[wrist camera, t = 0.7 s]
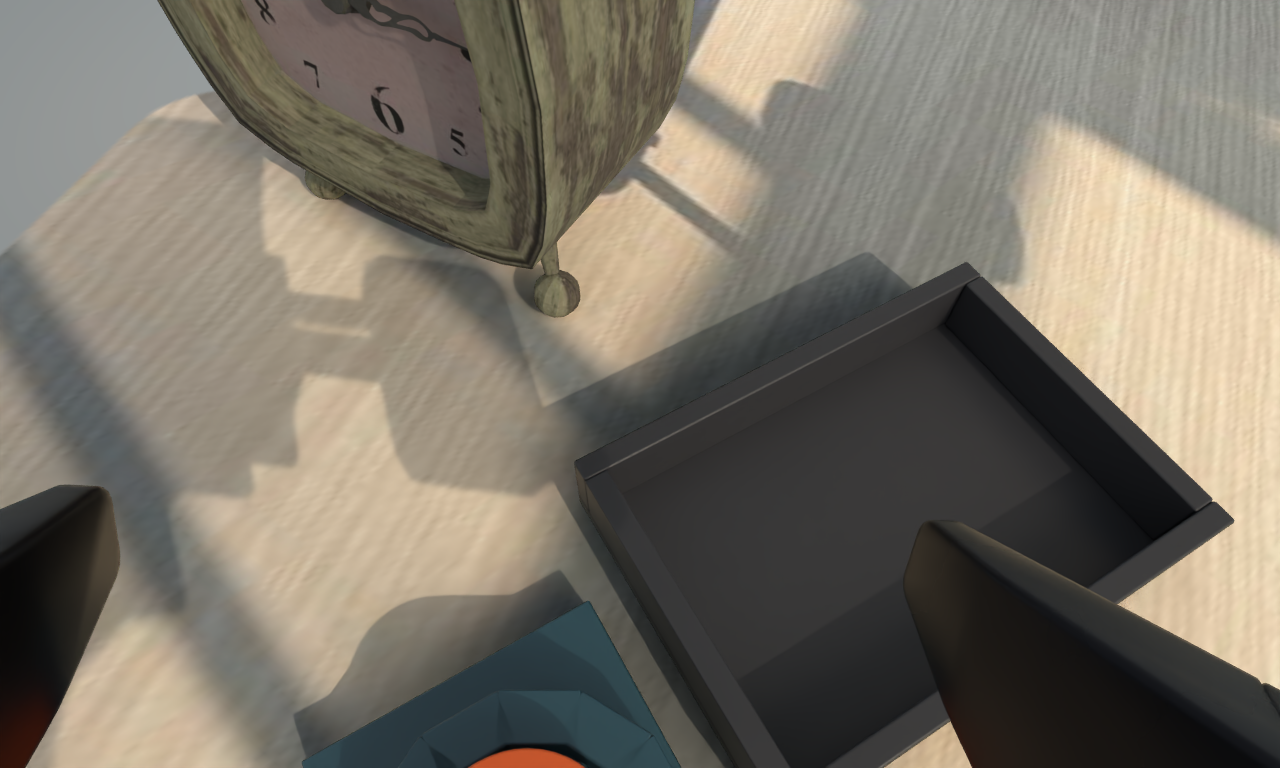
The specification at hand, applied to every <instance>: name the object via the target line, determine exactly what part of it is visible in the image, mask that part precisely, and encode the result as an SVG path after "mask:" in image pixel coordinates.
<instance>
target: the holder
mask: <svg viewBox="0 0 1280 768" xmlns="http://www.w3.org/2000/svg"><path fill="white" fill-rule="evenodd" d="M574 465H575V471H576V477H577V483H578V490H579V497H580V502H581V504H582V505H583V507H584V509H585V510H586V512H587V514H588V516H589V517H590V519H591V521H592V522H593V524H594V526H595V528H596V529H597V531H598V533H599V535H600V536H601V538H602V540H603V541H604V543H605V545H606V547H607V548H608V550H609V552H610V553H611V555H612V557H613V559H614V560H615V562H616V564H617V565H618V567H619V569H620V571H621V572H622V574H623V576H624V577H625V579H626V581H627V583H628V584H629V586H630V588H631V589H632V591H633V593H634V595H635V596H636V598H637V600H638V601H639V603H640V605H641V607H642V608H643V610H644V612H645V613H646V615H647V617H648V619H649V620H650V622H651V624H652V625H653V627H654V629H655V631H656V632H657V634H658V636H659V637H660V639H661V641H662V643H663V644H664V646H665V648H666V649H667V651H668V653H669V655H670V656H671V658H672V660H673V661H674V663H675V665H676V667H677V668H678V670H679V672H680V673H681V675H682V677H683V679H684V680H685V682H686V684H687V685H688V687H689V689H690V691H691V692H692V694H693V696H694V697H695V699H696V701H697V703H698V704H699V706H700V708H701V710H702V711H703V713H704V715H705V716H706V718H707V720H708V722H709V723H710V725H711V727H712V728H713V730H714V732H715V734H716V735H717V737H718V739H719V740H720V742H721V744H722V746H723V747H724V749H725V751H726V752H727V754H728V756H729V758H730V759H731V761H732V763H733V764H734V766H735V768H884V767H885V766H887V765H888V764H890V763H891V762H893V761H894V760H895V759H897V758H898V757H900V756H901V755H903V754H904V753H905V752H907V751H908V750H910V749H911V748H913V747H914V746H916V745H917V744H918V743H920V742H921V741H923V740H924V739H926V738H927V737H928V736H930V735H931V734H933V733H934V732H936V731H937V730H938V729H940V728H941V727H943V726H944V725H946V724H947V723H948V722H950V719H949V716H948V714H947V712H946V710H945V707H944V705H943V702H942V700H941V697H940V695H939V692H938V689H937V687H936V684H935V681H934V678H933V675H932V672H931V670H930V667H929V664H928V661H927V658H926V655H925V652H924V650H923V647H922V644H921V641H920V638H919V635H918V632H917V630H916V627H915V624H914V621H913V618H912V615H911V612H910V610H909V607H908V604H907V601H906V598H905V595H904V589H903V577H904V572H905V569H906V566H907V563H908V560H909V557H910V554H911V551H912V548H913V545H914V542H915V539H916V536H917V533H918V530H919V528H920V526H921V525H922V524H923V523H924V522H926V521H928V520H952V521H958V522H961V523H963V524H965V525H967V526H969V527H971V528H973V529H975V530H977V531H978V532H980V533H982V534H984V535H986V536H988V537H990V538H992V539H994V540H996V541H997V542H999V543H1001V544H1003V545H1005V546H1007V547H1009V548H1011V549H1013V550H1015V551H1016V552H1018V553H1020V554H1022V555H1024V556H1026V557H1028V558H1030V559H1032V560H1034V561H1035V562H1037V563H1039V564H1041V565H1043V566H1045V567H1047V568H1049V569H1051V570H1053V571H1054V572H1056V573H1058V574H1060V575H1062V576H1064V577H1066V578H1068V579H1070V580H1072V581H1073V582H1075V583H1077V584H1079V585H1081V586H1083V587H1085V588H1087V589H1089V590H1091V591H1092V592H1094V593H1096V594H1098V595H1100V596H1102V597H1104V598H1106V599H1108V600H1110V601H1112V602H1113V603H1115V604H1118V603H1120V602H1121V601H1123V600H1124V599H1126V598H1127V597H1128V596H1130V595H1131V594H1133V593H1134V592H1136V591H1137V590H1138V589H1140V588H1141V587H1143V586H1144V585H1146V584H1147V583H1148V582H1150V581H1151V580H1153V579H1154V578H1156V577H1157V576H1158V575H1160V574H1161V573H1163V572H1164V571H1166V570H1167V569H1168V568H1170V567H1171V566H1173V565H1174V564H1176V563H1177V562H1178V561H1180V560H1181V559H1183V558H1184V557H1186V556H1187V555H1188V554H1190V553H1191V552H1193V551H1194V550H1196V549H1197V548H1198V547H1200V546H1201V545H1203V544H1204V543H1206V542H1207V541H1208V540H1210V539H1211V538H1213V537H1214V536H1216V535H1217V534H1218V533H1220V532H1221V531H1223V530H1224V529H1226V528H1227V527H1228V526H1230V525H1231V524H1233V523H1234V519H1233V518H1232V517H1231V516H1230V515H1229V514H1228V513H1227V512H1226V511H1225V510H1224V509H1223V508H1222V507H1221V506H1220V505H1219V504H1218V503H1217V502H1212V500H1213V499H1212V498H1211V497H1210V496H1209V495H1208V494H1207V493H1206V492H1205V491H1204V490H1203V489H1202V488H1201V487H1200V486H1199V485H1198V484H1197V483H1196V482H1195V481H1194V480H1193V479H1192V478H1191V477H1190V476H1189V475H1188V474H1187V473H1186V472H1185V471H1183V470H1182V469H1181V468H1180V467H1179V466H1178V465H1177V464H1176V463H1175V462H1174V461H1173V460H1172V459H1171V458H1170V457H1169V456H1168V455H1167V454H1166V453H1165V452H1164V451H1163V450H1162V449H1161V448H1160V447H1159V446H1158V445H1157V444H1156V443H1154V442H1153V441H1152V440H1151V439H1150V438H1149V437H1148V436H1147V435H1146V434H1145V433H1144V432H1143V431H1142V430H1141V429H1140V428H1139V427H1138V426H1137V425H1136V424H1135V423H1134V422H1133V421H1132V420H1131V419H1130V418H1129V417H1128V416H1126V415H1125V414H1124V413H1123V412H1122V411H1121V410H1120V409H1119V408H1118V407H1117V406H1116V405H1115V404H1114V403H1113V402H1112V401H1111V400H1110V399H1109V398H1108V397H1107V396H1106V395H1105V394H1104V393H1103V392H1102V391H1101V390H1100V389H1098V388H1097V387H1096V386H1095V385H1094V384H1093V383H1092V382H1091V381H1090V380H1089V379H1088V378H1087V377H1086V376H1085V375H1084V374H1083V373H1082V372H1081V371H1080V370H1079V369H1078V368H1077V367H1076V366H1075V365H1074V364H1073V363H1072V362H1070V361H1069V360H1068V359H1067V358H1066V357H1065V356H1064V355H1063V354H1062V353H1061V352H1060V351H1059V350H1058V349H1057V348H1056V347H1055V346H1054V345H1053V344H1052V343H1051V342H1050V341H1049V340H1048V339H1047V338H1046V337H1045V336H1044V335H1042V334H1041V333H1040V332H1039V331H1038V330H1037V329H1036V328H1035V327H1034V326H1033V325H1032V324H1031V323H1030V322H1029V321H1028V320H1027V319H1026V318H1025V317H1024V316H1023V315H1022V314H1021V313H1020V312H1019V311H1018V310H1017V309H1016V308H1014V307H1013V306H1012V305H1011V304H1010V303H1009V302H1008V301H1007V300H1006V299H1005V298H1004V297H1003V296H1002V295H1001V294H1000V293H999V292H998V291H997V290H996V289H995V288H994V287H993V286H992V285H991V284H990V283H989V282H988V281H986V280H985V279H984V278H983V277H980V274H979V273H978V272H977V271H976V270H975V269H974V268H973V267H972V266H971V265H970V264H969V263H967V262H965V263H963V264H961V265H959V266H957V267H955V268H953V269H951V270H950V271H948V272H946V273H944V274H942V275H940V276H938V277H936V278H934V279H932V280H930V281H928V282H926V283H924V284H922V285H920V286H918V287H916V288H914V289H912V290H910V291H908V292H906V293H904V294H902V295H900V296H898V297H896V298H894V299H893V300H891V301H889V302H887V303H885V304H883V305H881V306H879V307H877V308H875V309H873V310H871V311H869V312H867V313H865V314H863V315H861V316H859V317H857V318H855V319H853V320H851V321H849V322H847V323H845V324H843V325H841V326H839V327H837V328H836V329H834V330H832V331H830V332H828V333H826V334H824V335H822V336H820V337H818V338H816V339H814V340H812V341H810V342H808V343H806V344H804V345H802V346H800V347H798V348H796V349H794V350H792V351H790V352H788V353H786V354H784V355H782V356H780V357H778V358H777V359H775V360H773V361H771V362H769V363H767V364H765V365H763V366H761V367H759V368H757V369H755V370H753V371H751V372H749V373H747V374H745V375H743V376H741V377H739V378H737V379H735V380H733V381H731V382H729V383H727V384H725V385H723V386H721V387H720V388H718V389H716V390H714V391H712V392H710V393H708V394H706V395H704V396H702V397H700V398H698V399H696V400H694V401H692V402H690V403H688V404H686V405H684V406H682V407H680V408H678V409H676V410H674V411H672V412H670V413H668V414H666V415H664V416H662V417H661V418H659V419H657V420H655V421H653V422H651V423H649V424H647V425H645V426H643V427H641V428H639V429H637V430H635V431H633V432H631V433H629V434H627V435H625V436H623V437H621V438H619V439H617V440H615V441H613V442H611V443H609V444H607V445H605V446H604V447H602V448H600V449H598V450H596V451H594V452H592V453H590V454H588V455H586V456H584V457H582V458H580V459H578V460H576V461H575V462H574Z"/></svg>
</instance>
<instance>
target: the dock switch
mask: <svg viewBox="0 0 1280 768" xmlns="http://www.w3.org/2000/svg"><path fill="white" fill-rule="evenodd" d="M521 748H535V749H544V750H549V751H553V752H556V753H559V754H562V755H564V756H567V757H569V758H571V759H573V760H575V761H576V762H578V763H580V764H581V765H583V766H584V767H585V768H681V766H680V764H679V763H678V761H677V759H676V757H675V755H674V753H673V752H672V750H671V748H670V746H669V744H668V743H667V741H666V739H665V737H664V735H663V733H662V732H661V730H660V728H659V726H658V724H657V723H656V721H655V719H654V717H653V715H652V714H651V712H650V710H649V708H648V706H647V704H646V703H645V701H644V699H643V697H642V695H641V694H640V692H639V690H638V688H637V686H636V684H635V683H634V681H633V679H632V677H631V675H630V674H629V672H628V670H627V668H626V666H625V664H624V663H623V661H622V659H621V657H620V655H619V654H618V652H617V650H616V648H615V646H614V644H613V643H612V641H611V639H610V637H609V635H608V634H607V632H606V630H605V628H604V626H603V624H602V623H601V621H600V619H599V617H598V615H597V614H596V612H595V610H594V608H593V606H592V604H591V603H590V601H586V602H584V603H583V604H581V605H579V606H577V607H576V608H574V609H572V610H570V611H568V612H567V613H565V614H563V615H561V616H560V617H558V618H556V619H554V620H552V621H551V622H549V623H547V624H545V625H543V626H542V627H540V628H538V629H536V630H535V631H533V632H531V633H529V634H527V635H526V636H524V637H522V638H520V639H519V640H517V641H515V642H513V643H511V644H510V645H508V646H506V647H504V648H503V649H501V650H499V651H497V652H495V653H494V654H492V655H490V656H488V657H487V658H485V659H483V660H481V661H479V662H478V663H476V664H474V665H472V666H471V667H469V668H467V669H465V670H463V671H462V672H460V673H458V674H456V675H455V676H453V677H451V678H449V679H447V680H446V681H444V682H442V683H440V684H439V685H437V686H435V687H433V688H431V689H430V690H428V691H426V692H424V693H423V694H421V695H419V696H417V697H415V698H414V699H412V700H410V701H408V702H407V703H405V704H403V705H401V706H399V707H398V708H396V709H394V710H392V711H391V712H389V713H387V714H385V715H383V716H382V717H380V718H378V719H376V720H375V721H373V722H371V723H369V724H367V725H366V726H364V727H362V728H360V729H359V730H357V731H355V732H353V733H351V734H350V735H348V736H346V737H344V738H343V739H341V740H339V741H337V742H335V743H334V744H332V745H330V746H328V747H327V748H325V749H323V750H321V751H319V752H318V753H316V754H314V755H312V756H311V757H309V758H307V759H305V760H303V761H302V766H303V768H468V767H470V766H471V765H473V764H474V763H476V762H478V761H480V760H482V759H484V758H486V757H488V756H491V755H494V754H496V753H499V752H503V751H507V750H512V749H521Z"/></svg>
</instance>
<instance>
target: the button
mask: <svg viewBox="0 0 1280 768" xmlns="http://www.w3.org/2000/svg"><path fill="white" fill-rule="evenodd" d="M468 768H585V767H584V766H583V765H581V764H580V763H578V762H576V761H575V760H573V759H571V758H569V757H567V756H564V755H562V754H559V753H556V752H553V751H549V750H544V749H535V748H521V749H512V750H507V751H503V752H499V753H496V754H494V755H491V756H488V757H486V758H484V759H482V760H480V761H478V762H476V763H474V764H473V765H471V766H470V767H468Z"/></svg>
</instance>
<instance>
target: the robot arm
mask: <svg viewBox="0 0 1280 768" xmlns="http://www.w3.org/2000/svg"><path fill="white" fill-rule="evenodd" d="M119 565H120V549H119V542H118V536H117V529H116V523H115V516H114V509H113V503H112V499H111V496H110V494H109V492H108V491H107V490H106V489H104V488H103V487H100V486H84V485H59V486H56V487H53V488H51V489H48V490H46V491H44V492H41V493H39V494H36V495H34V496H31V497H29V498H27V499H24V500H22V501H19V502H17V503H15V504H12V505H10V506H7V507H5V508H2V509H0V768H25V767H26V766H27V764H28V762H29V761H30V759H31V757H32V755H33V754H34V752H35V750H36V748H37V747H38V745H39V743H40V742H41V740H42V738H43V736H44V735H45V733H46V731H47V729H48V727H49V726H50V724H51V722H52V720H53V718H54V716H55V715H56V713H57V711H58V709H59V707H60V705H61V703H62V700H63V698H64V696H65V694H66V692H67V690H68V688H69V686H70V683H71V681H72V679H73V676H74V674H75V672H76V669H77V667H78V665H79V662H80V660H81V658H82V656H83V653H84V651H85V649H86V646H87V644H88V642H89V639H90V637H91V635H92V633H93V630H94V628H95V626H96V623H97V621H98V619H99V616H100V614H101V612H102V610H103V607H104V605H105V603H106V600H107V598H108V596H109V593H110V591H111V589H112V587H113V584H114V582H115V580H116V577H117V574H118V570H119ZM903 589H904V595H905V598H906V601H907V604H908V607H909V610H910V612H911V615H912V618H913V621H914V624H915V627H916V630H917V632H918V635H919V638H920V641H921V644H922V647H923V650H924V652H925V655H926V658H927V661H928V664H929V667H930V670H931V672H932V675H933V678H934V681H935V684H936V687H937V689H938V692H939V695H940V697H941V700H942V702H943V705H944V707H945V710H946V712H947V714H948V716H949V719H950V721H951V723H952V726H953V728H954V730H955V732H956V734H957V736H958V738H959V740H960V743H961V745H962V747H963V749H964V751H965V753H966V755H967V758H968V760H969V762H970V764H971V766H972V768H1280V690H1279V689H1277V688H1275V687H1273V686H1271V685H1270V684H1267V683H1263V684H1261V683H1260V681H1259V680H1258V679H1257V678H1256V677H1254V676H1252V675H1250V674H1248V673H1246V672H1245V671H1243V670H1241V669H1239V668H1237V667H1235V666H1233V665H1231V664H1229V663H1227V662H1226V661H1224V660H1222V659H1220V658H1218V657H1216V656H1214V655H1212V654H1210V653H1208V652H1207V651H1205V650H1203V649H1201V648H1199V647H1197V646H1195V645H1193V644H1191V643H1189V642H1188V641H1186V640H1184V639H1182V638H1180V637H1178V636H1176V635H1174V634H1172V633H1170V632H1169V631H1167V630H1165V629H1163V628H1161V627H1159V626H1157V625H1155V624H1153V623H1151V622H1150V621H1148V620H1146V619H1144V618H1142V617H1140V616H1138V615H1136V614H1134V613H1132V612H1131V611H1129V610H1127V609H1125V608H1123V607H1121V606H1119V605H1117V604H1115V603H1113V602H1112V601H1110V600H1108V599H1106V598H1104V597H1102V596H1100V595H1098V594H1096V593H1094V592H1092V591H1091V590H1089V589H1087V588H1085V587H1083V586H1081V585H1079V584H1077V583H1075V582H1073V581H1072V580H1070V579H1068V578H1066V577H1064V576H1062V575H1060V574H1058V573H1056V572H1054V571H1053V570H1051V569H1049V568H1047V567H1045V566H1043V565H1041V564H1039V563H1037V562H1035V561H1034V560H1032V559H1030V558H1028V557H1026V556H1024V555H1022V554H1020V553H1018V552H1016V551H1015V550H1013V549H1011V548H1009V547H1007V546H1005V545H1003V544H1001V543H999V542H997V541H996V540H994V539H992V538H990V537H988V536H986V535H984V534H982V533H980V532H978V531H977V530H975V529H973V528H971V527H969V526H967V525H965V524H963V523H961V522H958V521H952V520H928V521H926V522H924V523H923V524H922V525H921V526H920V528H919V530H918V533H917V536H916V539H915V542H914V545H913V548H912V551H911V554H910V557H909V560H908V563H907V566H906V569H905V572H904V577H903Z"/></svg>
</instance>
